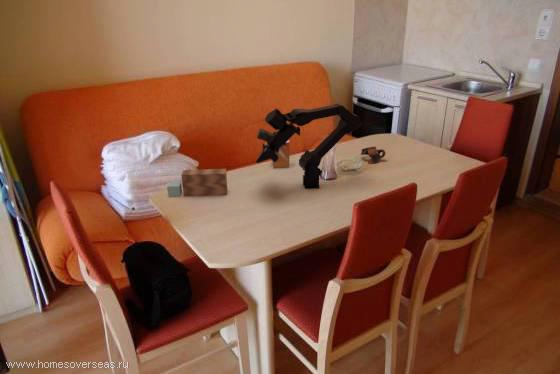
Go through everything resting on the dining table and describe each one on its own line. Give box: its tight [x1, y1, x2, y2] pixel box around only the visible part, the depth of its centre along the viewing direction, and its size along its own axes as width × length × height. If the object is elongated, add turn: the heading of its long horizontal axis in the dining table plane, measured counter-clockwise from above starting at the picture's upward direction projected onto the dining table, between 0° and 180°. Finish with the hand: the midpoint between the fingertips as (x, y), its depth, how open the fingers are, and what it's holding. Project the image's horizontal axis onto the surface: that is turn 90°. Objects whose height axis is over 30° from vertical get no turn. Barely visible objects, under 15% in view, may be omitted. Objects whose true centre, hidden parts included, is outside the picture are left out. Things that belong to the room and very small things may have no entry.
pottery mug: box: [360, 146, 386, 165], centre depth 216 cm, size 12×10×8 cm
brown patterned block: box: [181, 168, 228, 197], centre depth 183 cm, size 18×5×10 cm, turn 93°
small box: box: [271, 139, 290, 169], centre depth 209 cm, size 8×6×13 cm
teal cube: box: [166, 180, 183, 198], centre depth 183 cm, size 5×5×5 cm
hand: (256, 162), depth 180 cm, fingers closed
